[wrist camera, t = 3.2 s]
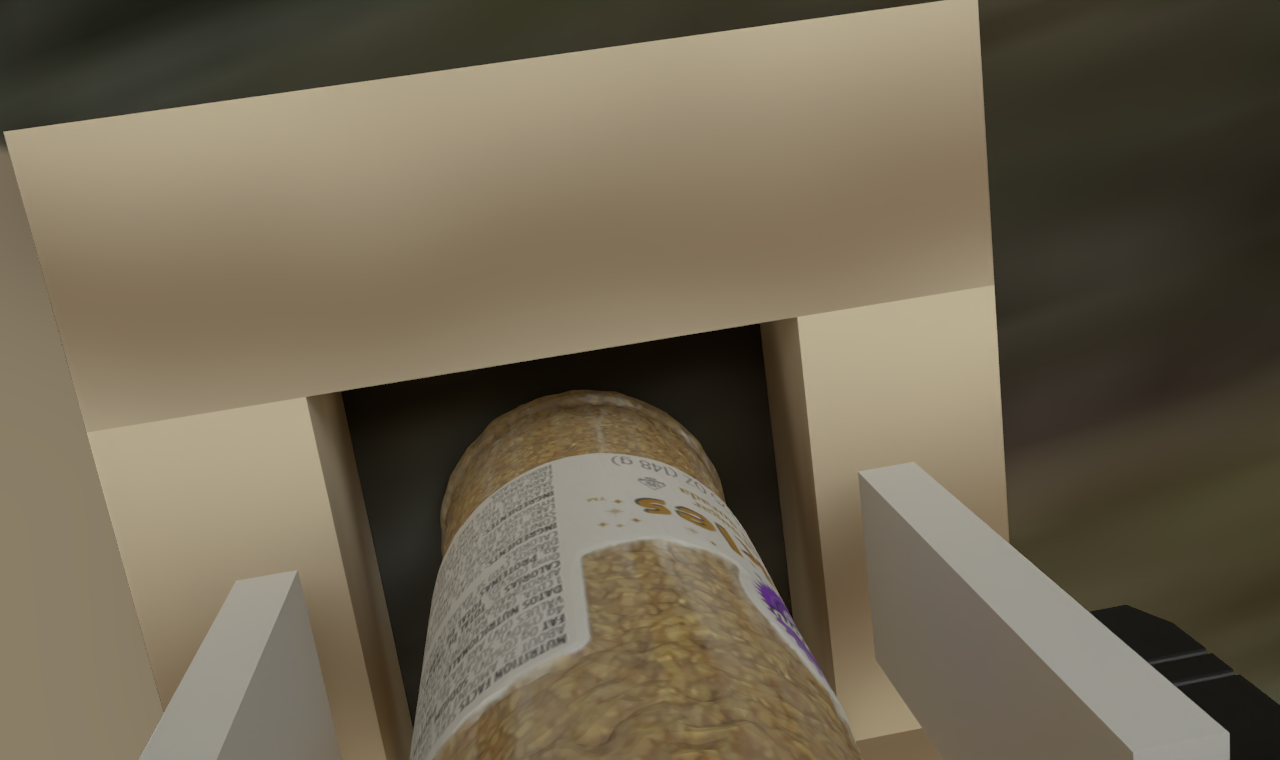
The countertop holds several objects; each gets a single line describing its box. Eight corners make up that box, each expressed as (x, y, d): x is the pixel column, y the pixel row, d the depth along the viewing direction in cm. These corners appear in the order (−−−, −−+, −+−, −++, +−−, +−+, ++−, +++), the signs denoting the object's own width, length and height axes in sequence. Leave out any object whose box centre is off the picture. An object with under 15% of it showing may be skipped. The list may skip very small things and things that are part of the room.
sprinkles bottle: (777, 511, 18) (1449, 1493, 5) (579, 700, 19) (764, 2039, 6) (579, 319, 17) (828, 979, 4) (373, 524, 18) (21, 1711, 5)
